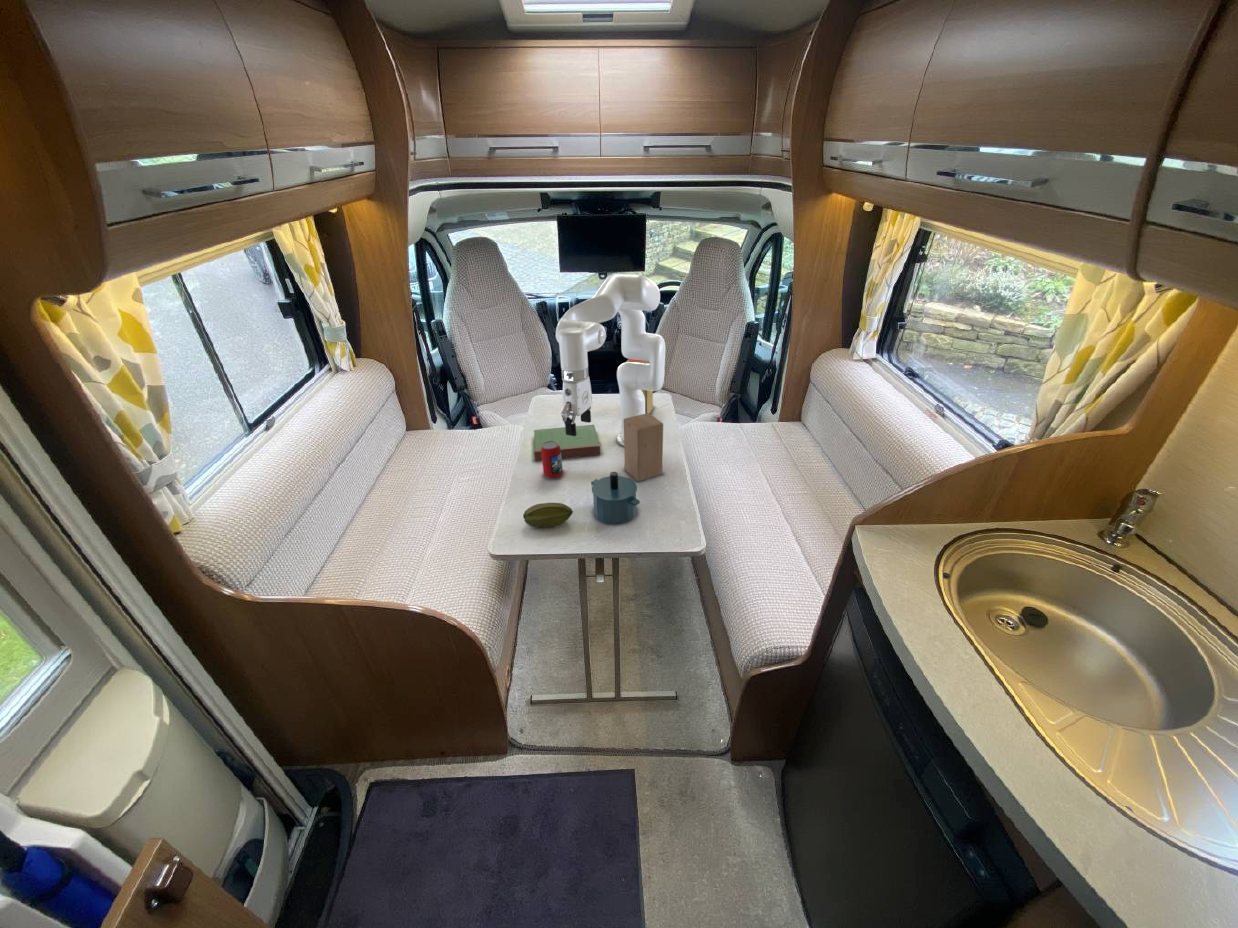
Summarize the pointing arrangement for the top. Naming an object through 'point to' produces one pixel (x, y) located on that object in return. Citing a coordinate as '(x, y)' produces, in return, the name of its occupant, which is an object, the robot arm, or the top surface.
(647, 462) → the wooden block
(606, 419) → the top surface
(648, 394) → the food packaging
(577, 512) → the top surface
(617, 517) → the pot
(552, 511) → the fruit
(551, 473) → the beverage can
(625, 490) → the pot lid
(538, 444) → the book
